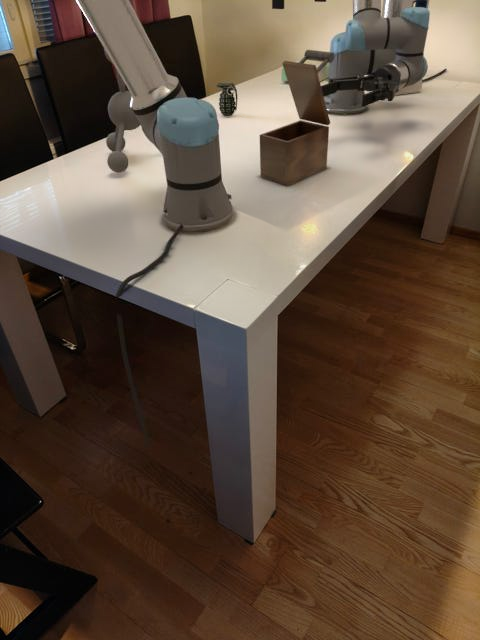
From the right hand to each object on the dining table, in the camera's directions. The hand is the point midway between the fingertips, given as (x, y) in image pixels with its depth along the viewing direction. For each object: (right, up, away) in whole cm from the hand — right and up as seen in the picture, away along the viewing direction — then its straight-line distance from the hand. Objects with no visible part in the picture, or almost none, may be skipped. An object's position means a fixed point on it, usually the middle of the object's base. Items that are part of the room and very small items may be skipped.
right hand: (341, 96), depth 125 cm
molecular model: (-54, -11, +14) cm, 57 cm away
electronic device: (+35, +28, +58) cm, 73 cm away
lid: (-10, -4, -9) cm, 14 cm away
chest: (-12, -20, 0) cm, 23 cm away
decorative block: (+3, +46, +83) cm, 95 cm away
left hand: (-13, +9, -22) cm, 27 cm away
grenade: (-30, +14, +44) cm, 55 cm away
